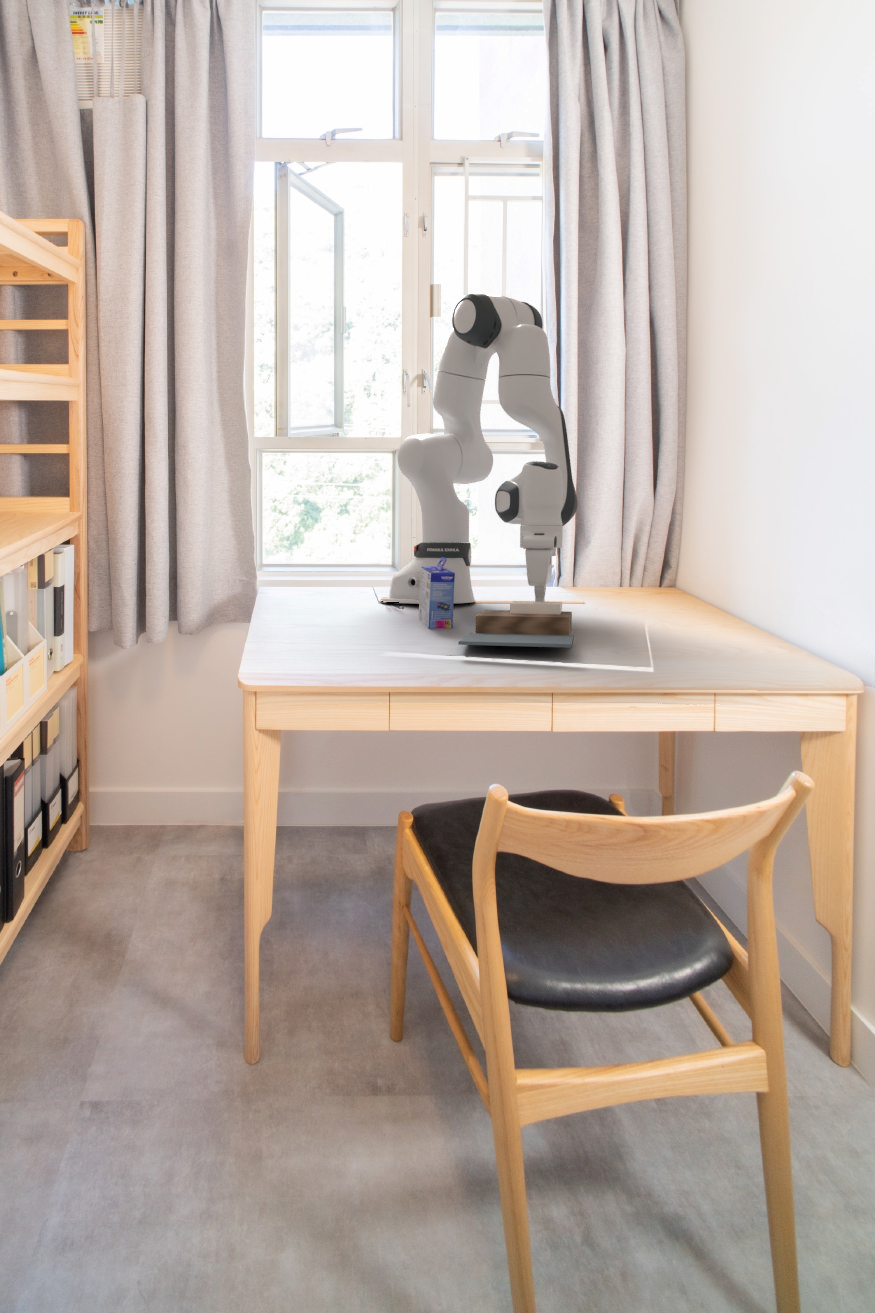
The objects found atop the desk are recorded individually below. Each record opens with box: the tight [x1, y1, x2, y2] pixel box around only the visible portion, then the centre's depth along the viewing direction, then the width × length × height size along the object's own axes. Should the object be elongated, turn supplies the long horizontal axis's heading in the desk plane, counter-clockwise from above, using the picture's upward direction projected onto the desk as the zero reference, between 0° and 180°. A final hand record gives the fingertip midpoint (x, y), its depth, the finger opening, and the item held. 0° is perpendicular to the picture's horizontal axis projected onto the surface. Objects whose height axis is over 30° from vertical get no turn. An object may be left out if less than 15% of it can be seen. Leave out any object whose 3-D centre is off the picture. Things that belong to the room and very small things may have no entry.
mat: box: [457, 632, 575, 648], centre depth 175 cm, size 20×15×1 cm
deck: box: [474, 609, 573, 635], centre depth 189 cm, size 18×14×4 cm
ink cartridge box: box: [418, 557, 455, 630], centre depth 196 cm, size 10×6×14 cm, turn 14°
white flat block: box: [509, 600, 563, 614], centre depth 191 cm, size 10×7×2 cm
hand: (539, 605), depth 200 cm, fingers closed
